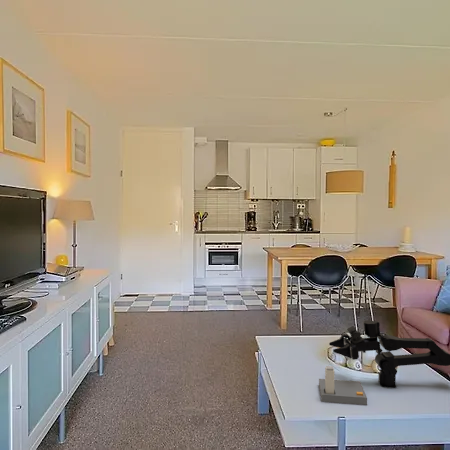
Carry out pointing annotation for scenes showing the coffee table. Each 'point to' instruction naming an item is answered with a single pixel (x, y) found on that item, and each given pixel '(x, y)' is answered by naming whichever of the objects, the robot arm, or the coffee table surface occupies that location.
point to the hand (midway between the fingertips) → (331, 347)
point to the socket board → (344, 392)
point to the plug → (329, 380)
